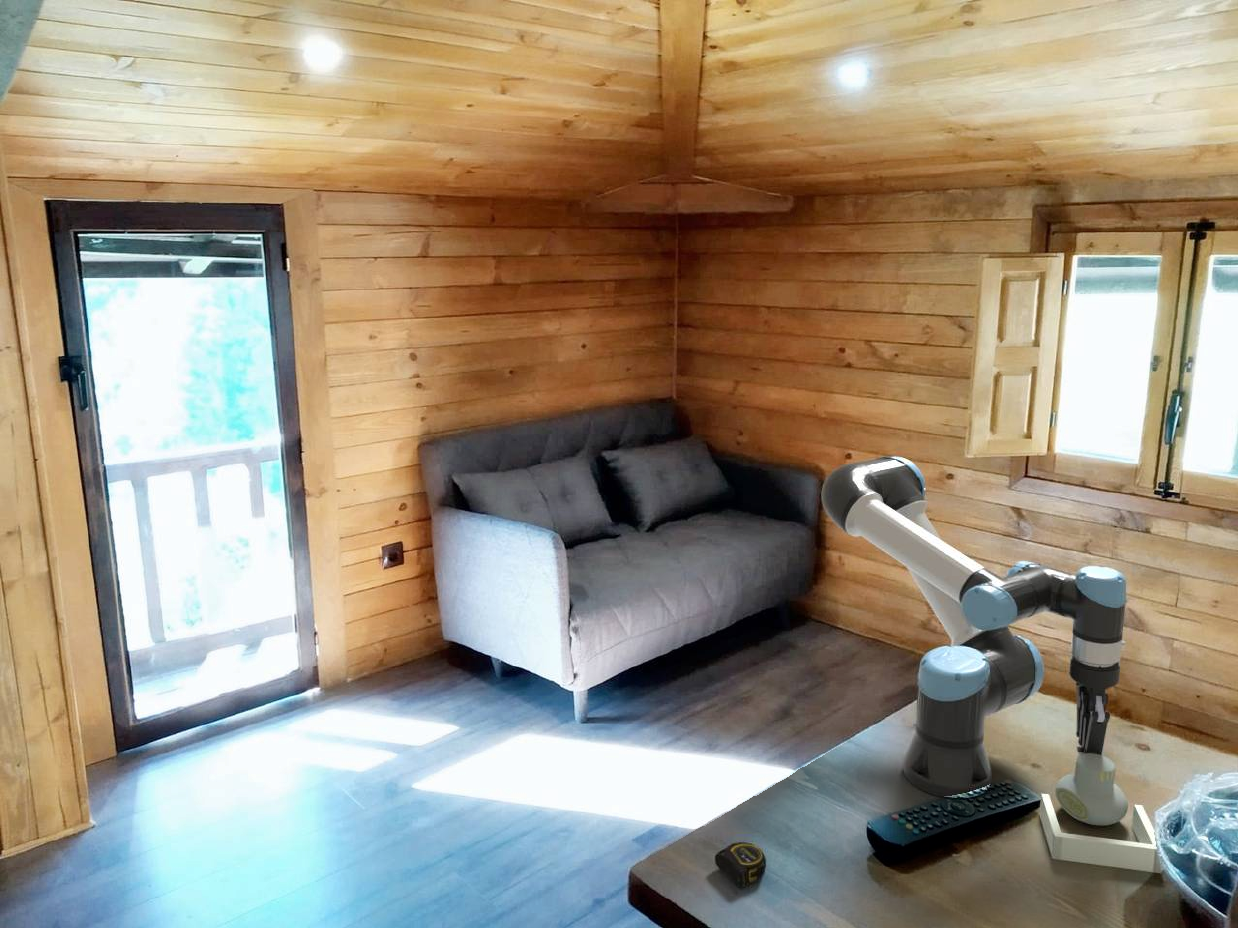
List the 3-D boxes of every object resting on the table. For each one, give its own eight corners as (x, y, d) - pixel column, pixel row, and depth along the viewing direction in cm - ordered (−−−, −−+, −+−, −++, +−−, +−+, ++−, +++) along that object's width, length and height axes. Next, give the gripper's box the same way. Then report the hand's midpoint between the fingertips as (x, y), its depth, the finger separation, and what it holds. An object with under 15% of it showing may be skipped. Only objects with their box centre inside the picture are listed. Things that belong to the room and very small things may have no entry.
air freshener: (1134, 826, 155) (1143, 774, 152) (1096, 839, 152) (1104, 787, 149) (1081, 788, 165) (1088, 739, 162) (1045, 800, 162) (1051, 750, 159)
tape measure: (712, 869, 147) (712, 848, 146) (748, 855, 150) (749, 835, 149) (737, 894, 141) (737, 873, 140) (774, 880, 144) (775, 858, 143)
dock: (1052, 858, 147) (1054, 836, 147) (1039, 814, 159) (1041, 793, 158) (1161, 873, 144) (1164, 850, 143) (1139, 826, 155) (1142, 805, 154)
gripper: (1130, 676, 151) (1119, 806, 157) (1109, 643, 163) (1100, 765, 169) (1079, 673, 153) (1070, 801, 158) (1063, 641, 165) (1054, 761, 170)
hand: (1085, 782), depth 163 cm, fingers closed
